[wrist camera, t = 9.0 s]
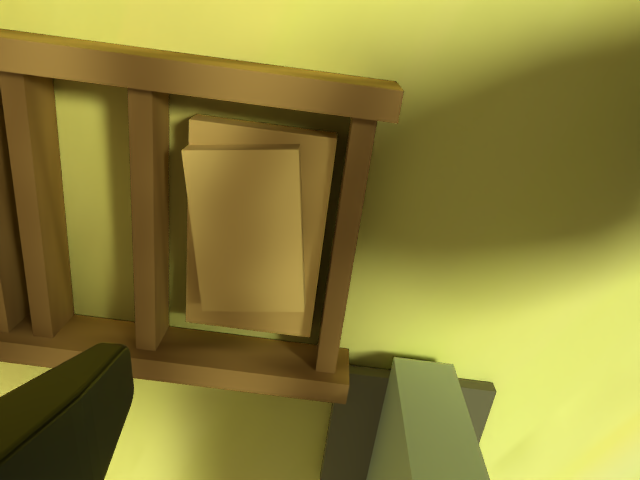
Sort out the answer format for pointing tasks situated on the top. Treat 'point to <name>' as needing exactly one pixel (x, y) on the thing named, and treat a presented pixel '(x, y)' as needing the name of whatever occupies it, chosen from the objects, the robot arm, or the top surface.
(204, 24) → the top surface
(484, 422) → the rubber mat
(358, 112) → the rack
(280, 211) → the offcut stack
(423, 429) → the grey square block
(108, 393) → the robot arm
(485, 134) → the top surface
